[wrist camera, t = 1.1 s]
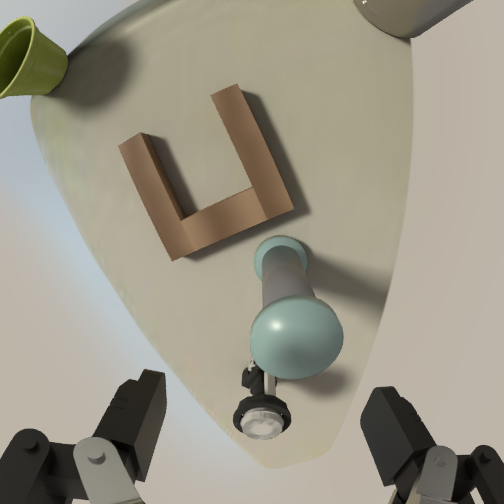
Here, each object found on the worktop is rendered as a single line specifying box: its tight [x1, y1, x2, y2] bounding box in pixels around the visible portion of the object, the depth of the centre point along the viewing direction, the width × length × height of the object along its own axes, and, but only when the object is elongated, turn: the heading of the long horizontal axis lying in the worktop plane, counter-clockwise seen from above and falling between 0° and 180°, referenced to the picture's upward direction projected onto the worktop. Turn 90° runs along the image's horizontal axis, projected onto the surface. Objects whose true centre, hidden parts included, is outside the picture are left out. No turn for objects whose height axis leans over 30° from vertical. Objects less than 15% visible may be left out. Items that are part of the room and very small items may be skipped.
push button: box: [233, 357, 291, 440], centre depth 27 cm, size 7×5×10 cm
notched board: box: [118, 84, 294, 261], centre depth 25 cm, size 12×12×2 cm
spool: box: [250, 235, 344, 379], centre depth 21 cm, size 5×5×14 cm
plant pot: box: [0, 16, 68, 99], centre depth 18 cm, size 9×9×9 cm
